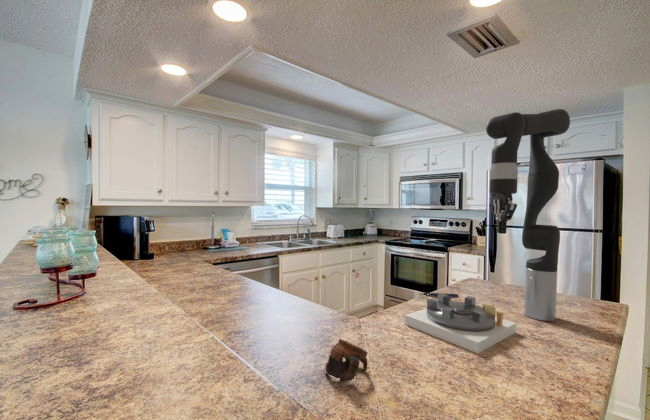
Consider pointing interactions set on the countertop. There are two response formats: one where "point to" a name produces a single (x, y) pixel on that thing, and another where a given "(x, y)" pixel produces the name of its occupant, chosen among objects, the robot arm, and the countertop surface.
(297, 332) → the countertop surface
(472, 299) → the shallow round grey dish
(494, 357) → the countertop surface
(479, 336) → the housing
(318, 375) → the countertop surface
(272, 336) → the countertop surface
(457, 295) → the bracket
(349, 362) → the pottery mug
